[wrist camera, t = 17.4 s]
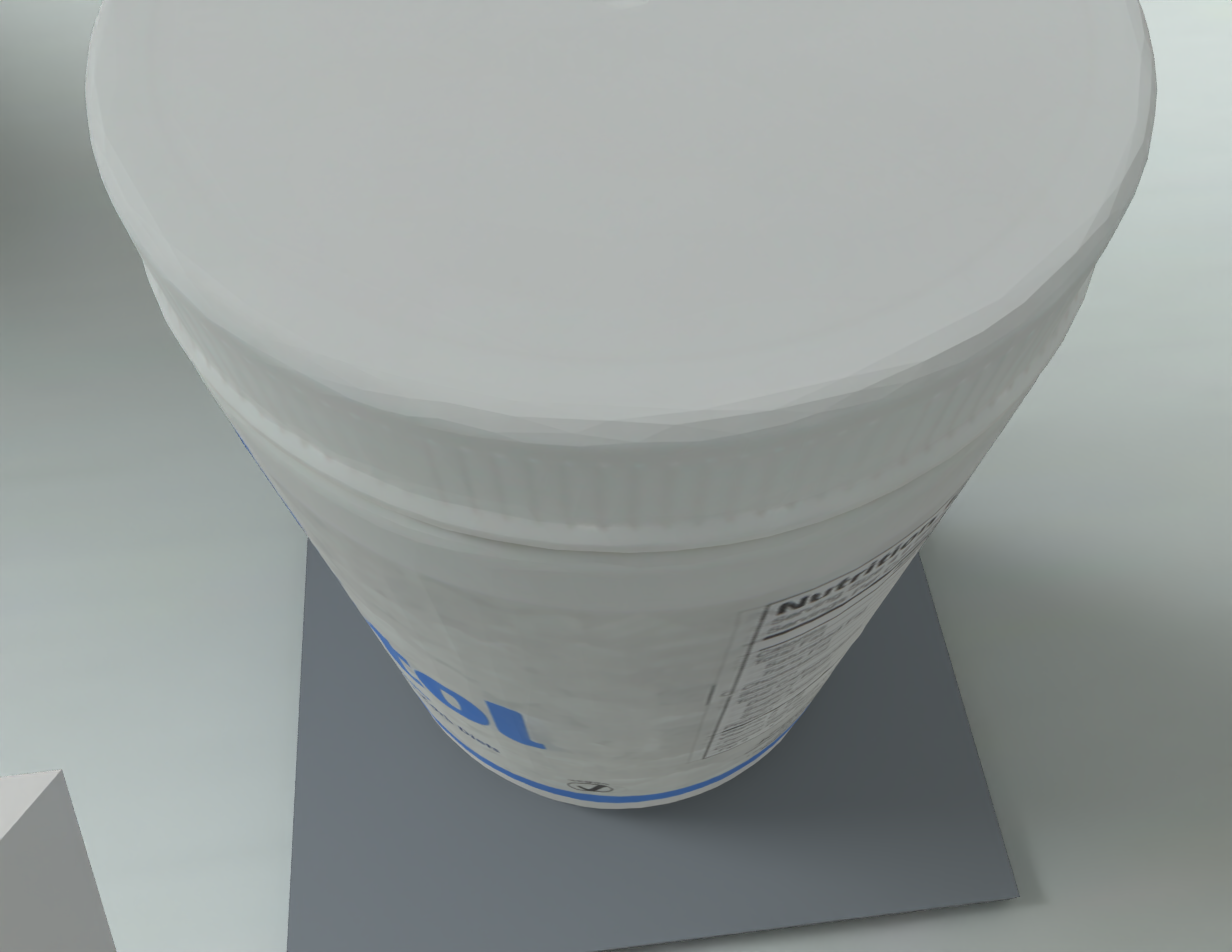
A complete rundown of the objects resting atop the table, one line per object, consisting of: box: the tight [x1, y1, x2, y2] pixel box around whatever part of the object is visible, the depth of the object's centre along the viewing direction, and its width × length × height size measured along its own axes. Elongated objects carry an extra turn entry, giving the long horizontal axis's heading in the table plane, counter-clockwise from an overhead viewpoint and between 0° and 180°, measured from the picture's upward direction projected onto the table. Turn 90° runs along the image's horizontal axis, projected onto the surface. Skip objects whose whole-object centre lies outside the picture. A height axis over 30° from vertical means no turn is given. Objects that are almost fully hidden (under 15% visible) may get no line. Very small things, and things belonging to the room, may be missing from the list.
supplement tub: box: [85, 0, 1157, 809], centre depth 15 cm, size 10×10×15 cm
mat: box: [287, 538, 1020, 952], centre depth 21 cm, size 14×14×1 cm
